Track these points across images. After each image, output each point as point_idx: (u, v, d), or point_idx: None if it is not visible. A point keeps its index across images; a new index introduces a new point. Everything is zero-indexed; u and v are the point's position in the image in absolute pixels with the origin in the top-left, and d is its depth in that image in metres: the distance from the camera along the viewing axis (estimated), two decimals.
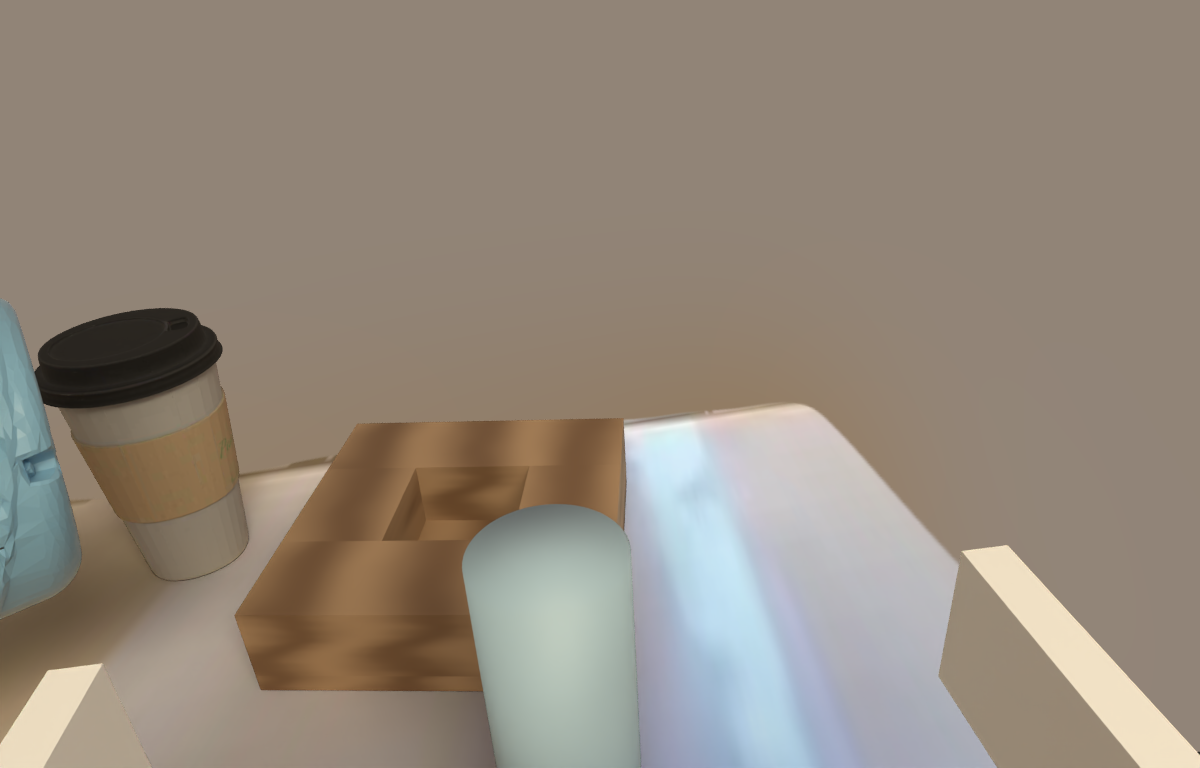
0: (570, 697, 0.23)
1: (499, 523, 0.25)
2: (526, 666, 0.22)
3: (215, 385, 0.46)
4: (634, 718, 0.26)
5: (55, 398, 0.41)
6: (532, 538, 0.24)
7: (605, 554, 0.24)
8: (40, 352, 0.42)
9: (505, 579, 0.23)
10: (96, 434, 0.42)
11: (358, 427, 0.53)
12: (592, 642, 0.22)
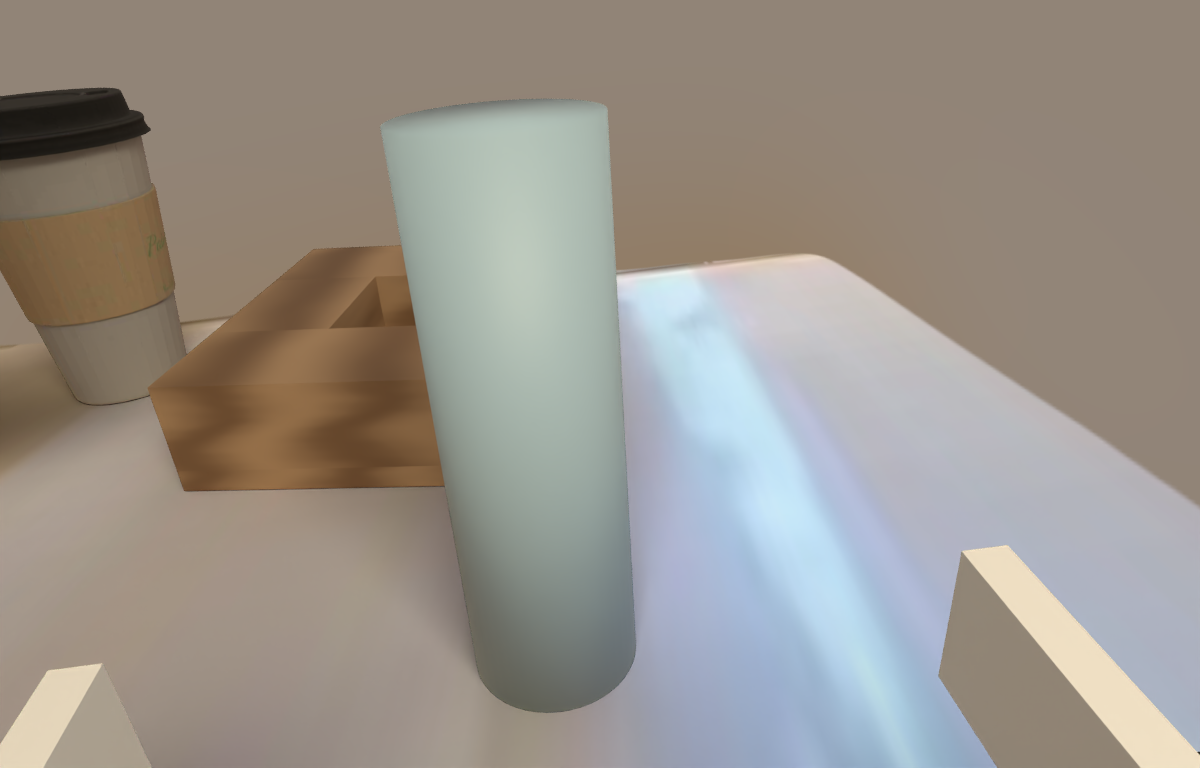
0: (526, 291, 0.17)
1: (437, 109, 0.19)
2: (464, 235, 0.16)
3: (141, 168, 0.40)
4: (615, 375, 0.20)
5: None
6: (478, 112, 0.18)
7: (573, 111, 0.18)
8: None
9: (437, 126, 0.17)
10: None
11: (314, 251, 0.47)
12: (554, 202, 0.16)
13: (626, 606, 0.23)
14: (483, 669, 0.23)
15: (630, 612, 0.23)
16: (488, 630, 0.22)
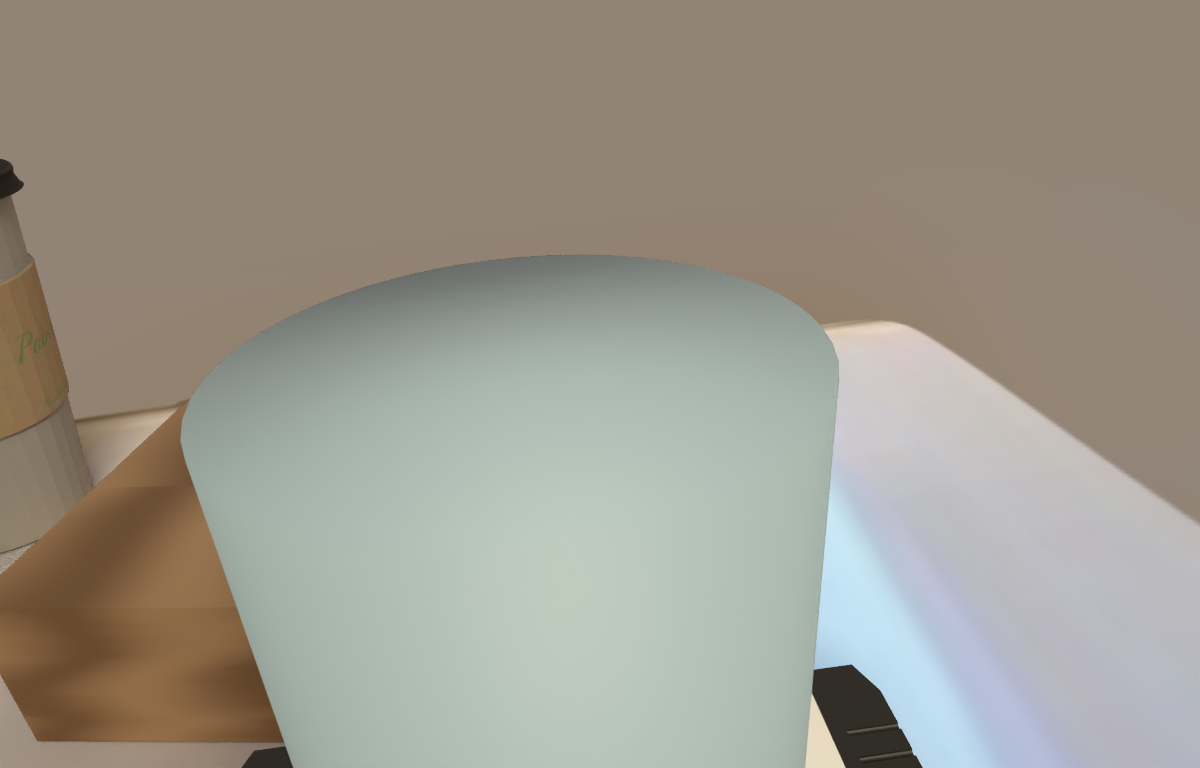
0: None
1: (372, 294, 0.08)
2: None
3: (6, 243, 0.28)
4: None
5: None
6: (471, 321, 0.07)
7: (735, 346, 0.06)
8: None
9: (344, 424, 0.06)
10: None
11: None
12: (712, 684, 0.05)
13: None
14: None
15: None
16: None
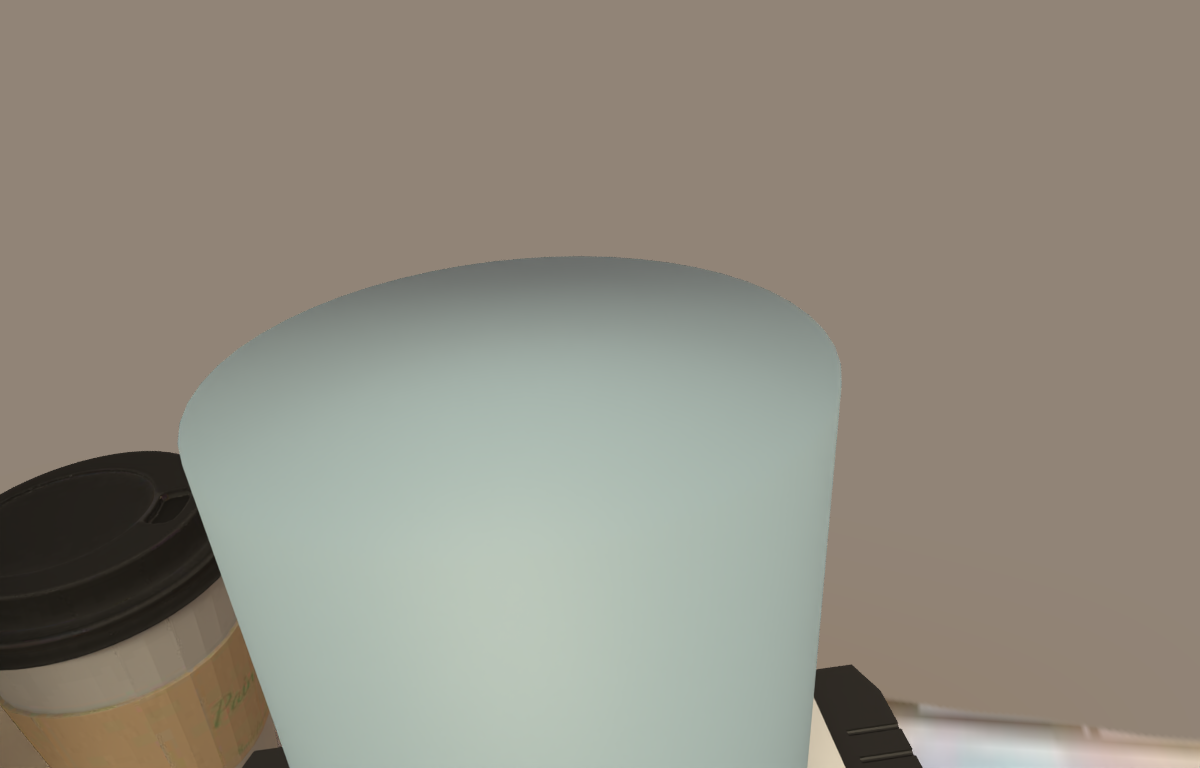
0: None
1: (372, 295, 0.08)
2: None
3: (216, 614, 0.27)
4: None
5: None
6: (471, 323, 0.07)
7: (737, 349, 0.06)
8: None
9: (343, 428, 0.06)
10: (0, 689, 0.25)
11: None
12: (712, 690, 0.05)
13: None
14: None
15: None
16: None
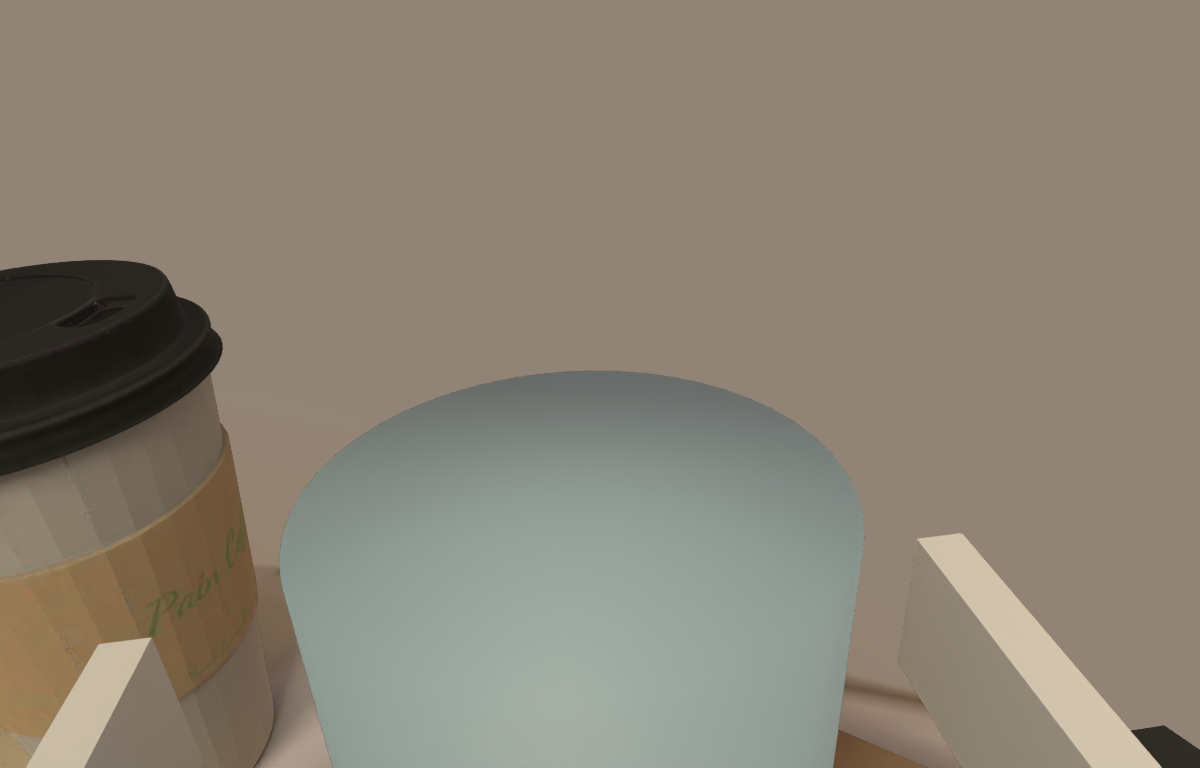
0: None
1: (431, 412, 0.09)
2: None
3: (152, 473, 0.19)
4: None
5: None
6: (526, 450, 0.08)
7: (769, 492, 0.07)
8: None
9: (427, 572, 0.06)
10: None
11: None
12: None
13: None
14: None
15: None
16: None
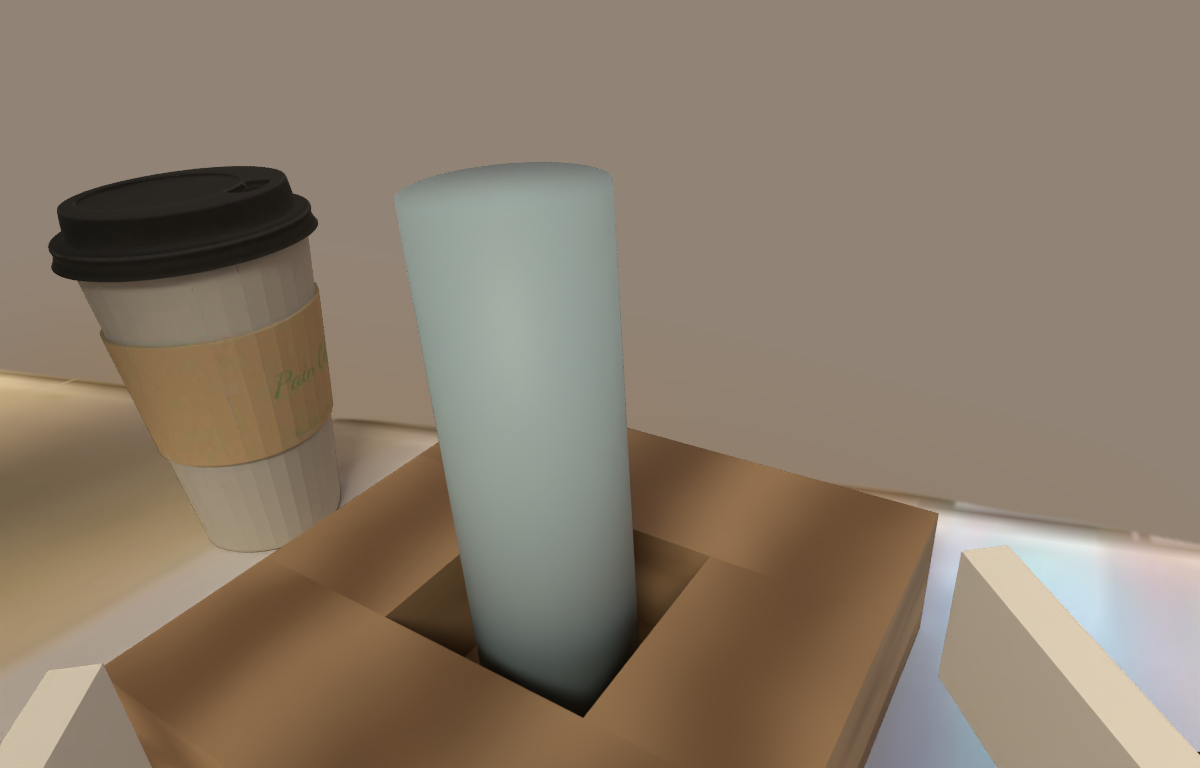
0: (535, 358, 0.18)
1: (448, 174, 0.20)
2: (476, 307, 0.17)
3: (281, 288, 0.30)
4: (621, 429, 0.20)
5: (53, 258, 0.28)
6: (488, 180, 0.19)
7: (579, 182, 0.18)
8: (78, 194, 0.30)
9: (449, 201, 0.17)
10: (103, 322, 0.29)
11: None
12: (563, 275, 0.17)
13: (632, 646, 0.24)
14: None
15: (635, 651, 0.24)
16: (498, 671, 0.23)
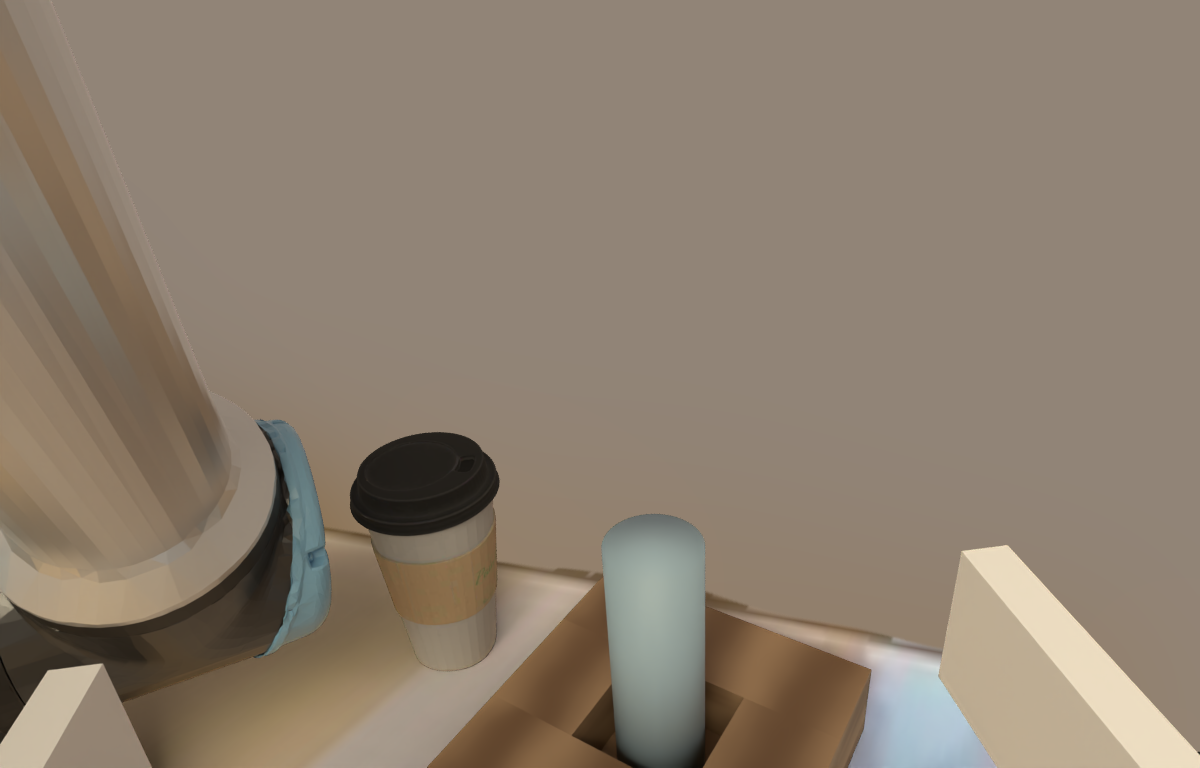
0: (670, 632, 0.38)
1: (619, 526, 0.40)
2: (644, 612, 0.37)
3: (483, 523, 0.50)
4: (703, 649, 0.41)
5: (358, 514, 0.48)
6: (642, 536, 0.39)
7: (689, 544, 0.38)
8: (361, 466, 0.50)
9: (630, 560, 0.38)
10: (382, 548, 0.49)
11: None
12: (685, 597, 0.37)
13: (703, 749, 0.44)
14: None
15: (704, 751, 0.44)
16: (634, 765, 0.43)
